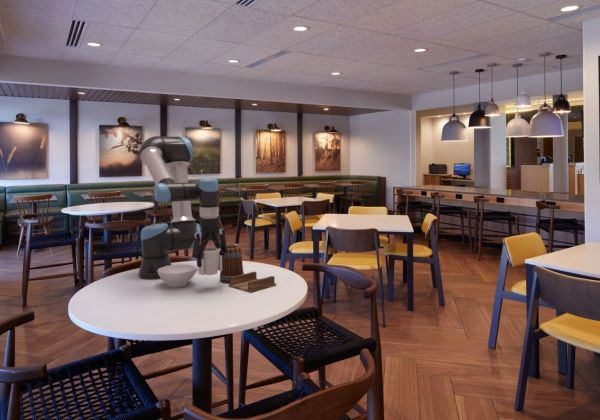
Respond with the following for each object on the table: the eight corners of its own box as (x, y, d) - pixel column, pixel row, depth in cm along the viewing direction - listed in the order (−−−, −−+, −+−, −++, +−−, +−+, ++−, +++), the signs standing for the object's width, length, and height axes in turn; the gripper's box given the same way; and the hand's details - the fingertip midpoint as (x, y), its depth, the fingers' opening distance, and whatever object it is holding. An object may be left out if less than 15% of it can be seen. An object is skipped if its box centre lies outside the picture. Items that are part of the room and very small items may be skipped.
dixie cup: (198, 271, 182) (197, 247, 180) (218, 269, 185) (217, 246, 184) (201, 276, 174) (201, 252, 173) (222, 274, 177) (222, 250, 176)
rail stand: (228, 286, 183) (228, 277, 183) (254, 279, 193) (254, 271, 193) (250, 292, 173) (250, 283, 173) (276, 285, 183) (276, 276, 183)
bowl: (161, 292, 175) (161, 275, 175) (155, 283, 190) (154, 267, 189) (201, 286, 183) (201, 270, 182) (192, 278, 197) (191, 262, 196)
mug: (239, 284, 186) (238, 249, 185) (216, 283, 188) (215, 248, 187) (250, 274, 202) (250, 242, 200) (229, 274, 204) (228, 242, 202)
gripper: (191, 221, 166) (193, 279, 169) (236, 215, 181) (236, 269, 184) (181, 218, 171) (182, 275, 174) (225, 213, 186) (225, 266, 189)
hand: (210, 272), depth 179 cm, fingers closed on dixie cup, 8 cm apart
